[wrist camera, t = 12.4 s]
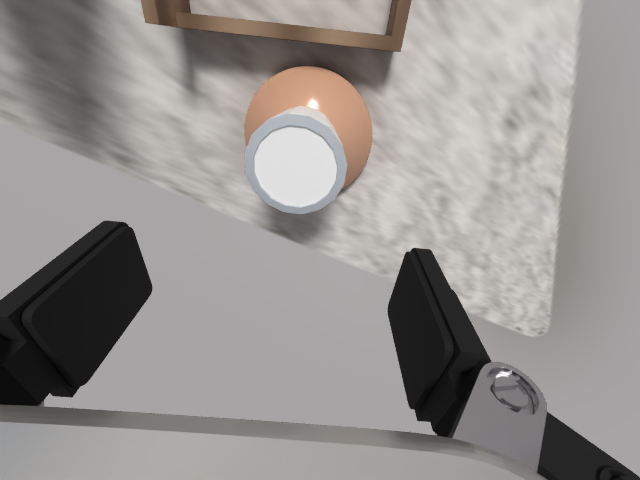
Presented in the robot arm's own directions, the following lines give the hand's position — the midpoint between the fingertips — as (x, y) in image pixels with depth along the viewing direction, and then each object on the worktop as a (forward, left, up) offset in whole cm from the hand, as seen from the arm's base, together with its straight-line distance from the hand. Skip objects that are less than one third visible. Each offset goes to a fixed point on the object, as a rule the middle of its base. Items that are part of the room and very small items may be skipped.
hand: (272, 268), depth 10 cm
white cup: (0, 0, -18) cm, 18 cm away
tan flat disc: (0, 0, -18) cm, 18 cm away
